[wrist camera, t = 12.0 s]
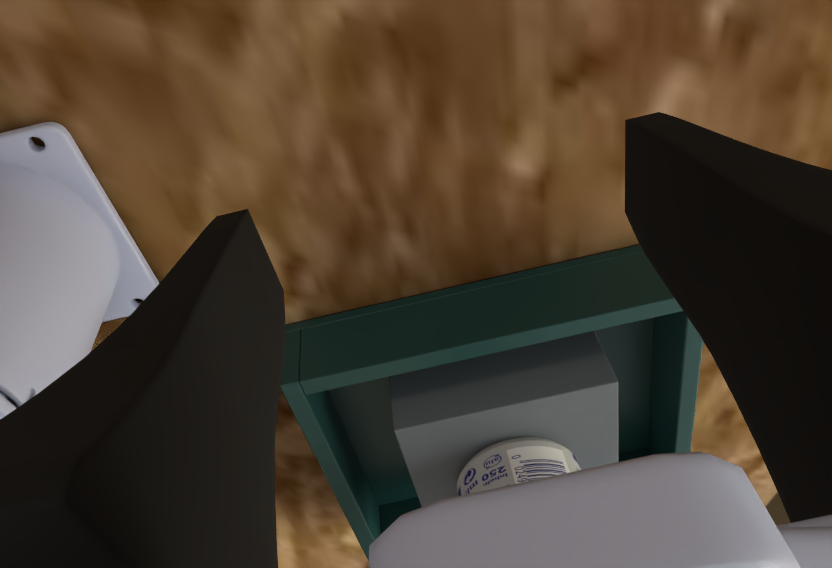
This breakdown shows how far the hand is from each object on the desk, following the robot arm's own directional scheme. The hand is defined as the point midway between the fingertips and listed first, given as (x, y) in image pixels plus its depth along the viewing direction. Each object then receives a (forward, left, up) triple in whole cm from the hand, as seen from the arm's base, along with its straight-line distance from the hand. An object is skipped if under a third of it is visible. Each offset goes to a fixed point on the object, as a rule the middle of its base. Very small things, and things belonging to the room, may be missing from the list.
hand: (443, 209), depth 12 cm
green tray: (+1, -18, -10) cm, 21 cm away
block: (+1, -18, -10) cm, 21 cm away
